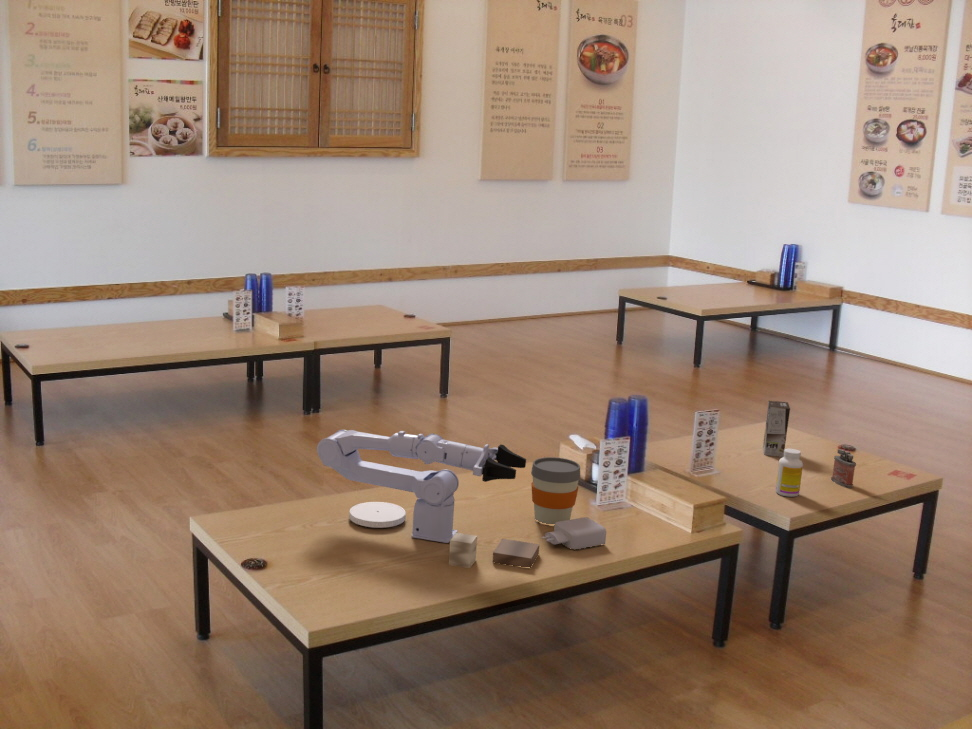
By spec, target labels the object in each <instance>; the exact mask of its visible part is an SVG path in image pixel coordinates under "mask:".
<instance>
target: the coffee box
mask: <svg viewBox="0 0 972 729" xmlns="http://www.w3.org/2000/svg"><path fill="white" fill-rule="evenodd" d="M767 403H768V404H767V411H766V419H765V427H764V434H763V435H764V436H763V442H762V449H763V450H762V451H763V454H764V456H772V457H780V458H782V457H784V449H786V440H787V434H788V426H789V419H790V412H791V407H790V404H789V402H787V401H778V400H768V402H767Z"/></svg>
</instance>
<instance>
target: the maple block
mask: <svg viewBox="0 0 972 729" xmlns="http://www.w3.org/2000/svg"><path fill="white" fill-rule="evenodd" d="M477 545H478V535H474V534H467V533H462V532H457V533H456V534H455V535H454V536H453V537H452V539H451V540H450V542H449V553H448V554H449V555H448V556H449V557H448V566H453V567H461V568H464V569H465V568H467V569H471V568H472V566H473V564H474V563H475V562H476V561H477Z"/></svg>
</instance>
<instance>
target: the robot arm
mask: <svg viewBox="0 0 972 729" xmlns="http://www.w3.org/2000/svg"><path fill="white" fill-rule="evenodd" d="M359 450H371V451H372V450H373V451H375V450H376V451H388V452H389V454H390V455H391V456H393V457H395V458H396V457H397V458H405V459H414V460H418V459H419V460H420V461H422V462H424V464H425V465H430V464H433V463H438V464H443V465H446V466H452V467H455V468H461V469H465V470H469V471H472V475H473V476H476V477H482V480H481V481H482V482H485V483H487V482H489V481H496V480H515V479H516V476H517V469H525V468H526V465H527V459H526V458H525V457H523V456H521V455H519V454H517V453H515V452H513V451H512V450H510V449H508V447H506V446H505V445H504V444H501V443H500V444H499V445H498V446H497V447H495V446H493V447H490V445H489V444H488V443H486V444H485V445H484V446H483V447H479V446H474V445H470V444H466V443H461V442H457V441H453V440H448V439H444V438H443V436H440V435H439V434H435V433H430V434H428V435H426V436H425V435H424V434H423V433H419V434H408V433H406V431H405V430H400V431H398V432H396V433H395V432H394V433H393V434H392V435H391V436H386V435H380V434H374V433H368V432H362V431H357V430H354V429H349V430H346V429H339V430H337V431H336V432H335V433H333V434H331V435H329V436H328V437H324V438H322V439H321V440H320V441H318V443H317V446H316V452H317V455H318V458H319V459H320V461H321V463H322V465H323V466H325V467H328V468H331V469H333V470H334V471H336V472H337V473H338V474H339V475H341V476H343V478H345V479H346V480H349V481H352V482H353V481H354V482H358V483H363V484H369V485H373V486H378V487H383V488H384V487H385V488H389V489H394V490H398V491H404V492H409V493H414V495H415V497H416V498H417V499H416V500H415V503H414V508H413V515H412V517H413V518H412V531H411V532H412V533H411V536H410V537H411V538H413V539H414V538H415V539H418V540H420V539H421V540H426V541H432V542H438V543H439V542H440V543H446V544H448V543H449V544H450V540H451V539H452V537H453V536H454V535H455V534H456V533H458V529H454V514H455V512H454V511H455V501H456V500H455V496H454V494H455V492H457V490H458V488H459V484H460V480H459V477H458V475H457V474H456V473H455V472H454V471H453V470H451V469H445V468H444V469H441V470H433V469H432V470H424V471H419V470H415V469H414V470H412V469H409V468H403V467H398V466H392V465H386V464H381V463H377V462H371V461H366V460H363V459H362V458H361V456H360V452H359ZM515 468H516V469H515Z"/></svg>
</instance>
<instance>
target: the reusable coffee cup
mask: <svg viewBox="0 0 972 729" xmlns="http://www.w3.org/2000/svg"><path fill="white" fill-rule="evenodd" d="M530 472H531V475H532V476H531V477H532V482H531V483H530V484H531V485H530V486H531V501H532V503H533V511H534V520H535V519H536V520H538V521H539V522H542V523H546V524H555V523H556V522H559V521H566V520H571V517H572V511H573V507H574V506H575V505H576V503H577V502H576V501H577V497H578V492H579V486H578V485H579V480H580V479H581V465H580V464H579V463H578V462H576V461H574V460H572V459H568V458H564V457H556V456H555V457H552V456H550V457H549V456H548V457H540V458H537V459H535V460H533V461H532V467H531V471H530Z"/></svg>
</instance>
